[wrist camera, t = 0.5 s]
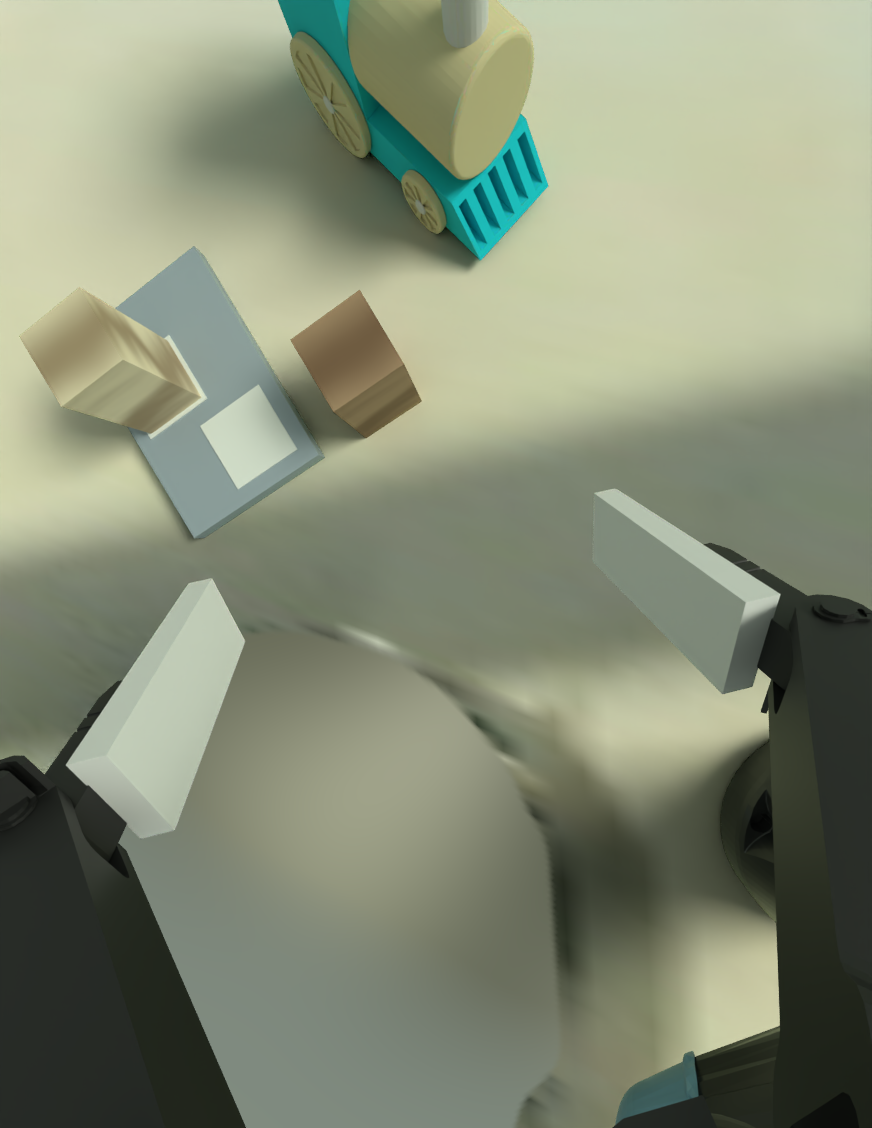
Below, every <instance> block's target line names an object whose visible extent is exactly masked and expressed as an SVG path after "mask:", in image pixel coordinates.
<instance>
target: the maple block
mask: <svg viewBox="0 0 872 1128" xmlns="http://www.w3.org/2000/svg"><path fill="white" fill-rule="evenodd" d="M19 337H20V339H21V340H22V342H23V344H24V345H25V347H26V349H27V350H28V352H29V354H30V355H31V357H32V359H33V360H34V362H35V364H36V365H37V367H38V369H39V370H40V372H41V374H42V375H43V377H44V379H45V380H46V382H47V384H48V385H49V387H50V389H51V390H52V392H53V394H54V395H55V397H56V399H57V400H58V402H59V404H60V405H61V407H64V408H67V409H70V410H74V411H77V412H80V413H84V414H87V415H90V416H94V417H97V418H101V419H104V420H107V421H111V422H114V423H117V424H121V425H124V426H127V427H131V428H134V429H137V430H141V431H144V432H147V433H151V434H152V433H153V432H155V431H156V430H157V429H159V428H160V427H162V426H163V425H164V424H166V423H167V422H168V421H170V420H171V419H173V418H174V417H175V416H177V415H178V414H180V413H181V412H182V411H184V410H185V409H186V408H188V407H189V406H191V405H192V404H193V403H195V402H196V401H197V400H199V399H200V398H202V397H201V395H200V394H199V392H198V390H197V389H196V387H195V385H194V384H193V382H192V380H191V379H190V377H189V375H188V374H187V372H186V370H185V369H184V367H183V365H182V364H181V362H180V360H179V359H178V357H177V355H176V354H175V352H174V350H173V349H172V347H171V345H170V344H169V342H168V341H167V340H166V339H164V338H162V337H161V336H159V335H158V334H156V333H154V332H153V331H151V330H149V329H148V328H146V327H144V326H143V325H141V324H139V323H138V322H136V321H134V320H133V319H131V318H130V317H128V316H126V315H125V314H123V313H121V312H120V311H118V310H116V309H115V308H113V307H111V306H110V305H108V304H106V303H105V302H103V301H102V300H100V299H98V298H97V297H95V296H93V295H92V294H90V293H88V292H87V291H85V290H83V289H82V288H80V287H79V288H78V289H76V290H75V291H74V292H73V293H71V294H70V295H69V296H68V297H66V298H65V299H64V300H63V301H62V302H60V303H59V304H58V305H57V306H55V307H54V308H53V309H52V310H50V311H49V312H48V313H47V314H46V315H44V316H43V317H42V318H41V319H39V320H38V321H37V322H36V323H35V324H33V325H32V326H31V327H30V328H28V329H27V330H26V331H25V332H23V333H22V334H21V335H20V336H19Z"/></svg>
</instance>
